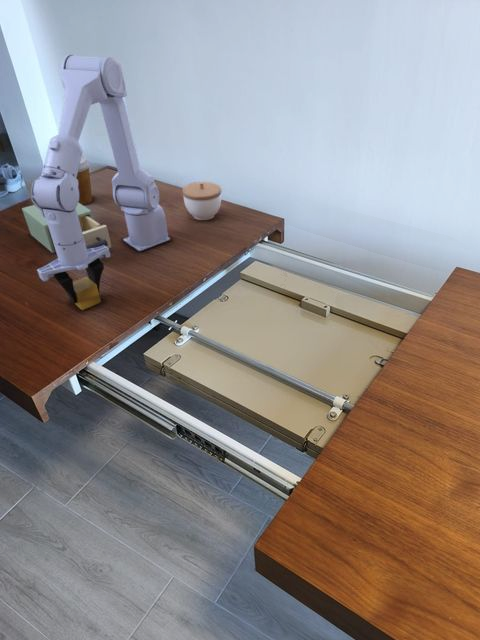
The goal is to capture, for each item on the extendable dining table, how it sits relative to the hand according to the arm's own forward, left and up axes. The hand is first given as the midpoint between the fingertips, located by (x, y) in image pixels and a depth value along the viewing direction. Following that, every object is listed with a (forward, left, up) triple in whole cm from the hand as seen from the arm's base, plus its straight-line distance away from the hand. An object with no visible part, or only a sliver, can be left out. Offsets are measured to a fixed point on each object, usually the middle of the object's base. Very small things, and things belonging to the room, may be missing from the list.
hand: (85, 296), depth 101 cm
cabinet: (-10, -32, -1) cm, 34 cm away
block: (0, 0, -1) cm, 1 cm away
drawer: (-10, -21, -1) cm, 23 cm away
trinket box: (-45, -17, -2) cm, 48 cm away
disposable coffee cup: (-24, -50, -2) cm, 55 cm away
